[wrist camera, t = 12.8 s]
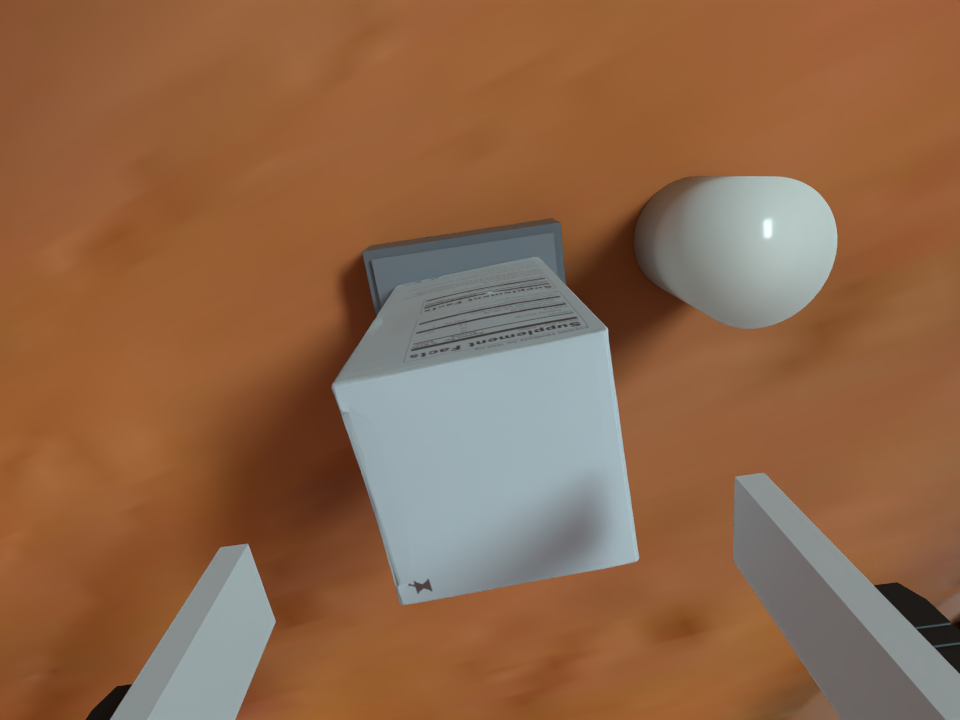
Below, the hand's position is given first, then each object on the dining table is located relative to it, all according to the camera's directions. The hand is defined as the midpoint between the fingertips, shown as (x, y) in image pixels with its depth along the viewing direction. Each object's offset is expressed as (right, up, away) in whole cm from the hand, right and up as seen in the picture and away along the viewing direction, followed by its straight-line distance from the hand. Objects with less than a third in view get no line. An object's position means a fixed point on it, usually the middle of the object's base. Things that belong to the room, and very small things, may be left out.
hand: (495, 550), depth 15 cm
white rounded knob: (+14, +13, +21) cm, 28 cm away
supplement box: (0, +6, +20) cm, 21 cm away
